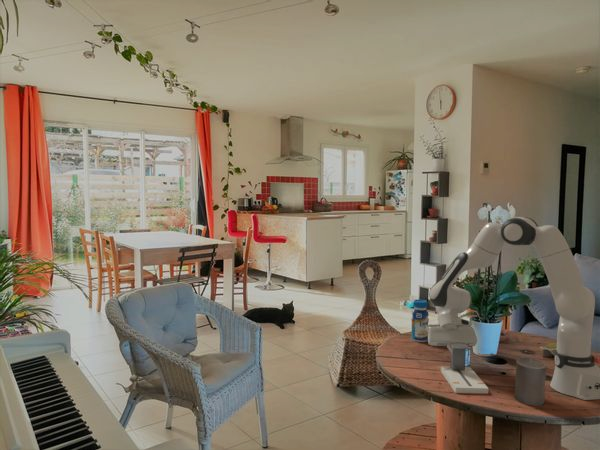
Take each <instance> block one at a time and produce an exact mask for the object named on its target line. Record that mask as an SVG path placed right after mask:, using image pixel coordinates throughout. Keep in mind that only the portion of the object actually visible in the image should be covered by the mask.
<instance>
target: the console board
mask: <svg viewBox="0 0 600 450" xmlns="http://www.w3.org/2000/svg"><path fill="white" fill-rule="evenodd" d="M440 372H441V374H442V376H443V377H444V378H445V380H446V381H447V383H448V384H449V386H450V387H451V388H452V390H453V391H454V393H456V394H484V395H485V394H489V387H488V386H487V384H485V383H484V381H483V380H482V379H481V378H480V377H479V375H477V373H476V372H475V371H474V370H473V369H472V367H470V366H465V370H452V368H451V366H440Z"/></svg>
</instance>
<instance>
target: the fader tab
mask: <svg viewBox="0 0 600 450" xmlns="http://www.w3.org/2000/svg"><path fill="white" fill-rule="evenodd" d="M451 347H452V355H451V358H450V359H451V361H450V362H451V363H450V364H451V365H450V367H451V368H452V370H465V367H466V355H467V354H466V351H467V347H468V346H467V344H466V343H464V342H451Z"/></svg>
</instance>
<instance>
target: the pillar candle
mask: <svg viewBox="0 0 600 450" xmlns="http://www.w3.org/2000/svg"><path fill="white" fill-rule="evenodd" d="M515 362H516V365H515V383H514V384H515V385H514V399H515V400H516V401H517V402H519V403H520V404H523V405H527V406H534V407H535V406H536V407H538V406H543V404H544V403H545V392H546V377H547V376H546V374H547V364H546V363H545V362H543V361H540V360H538V359H534V358H529V357H527V358H526V357H525V358H524V357H523V358H518V359H517V360H516V361H515Z"/></svg>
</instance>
